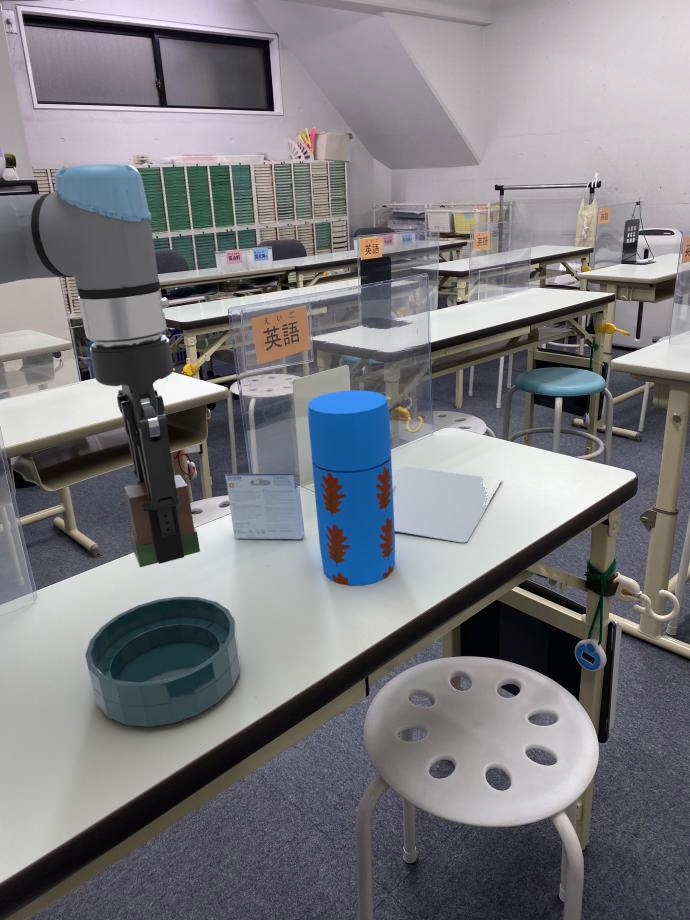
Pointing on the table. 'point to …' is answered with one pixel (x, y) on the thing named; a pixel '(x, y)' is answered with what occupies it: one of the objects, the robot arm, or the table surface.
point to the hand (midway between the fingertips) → (166, 550)
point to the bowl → (164, 660)
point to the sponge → (142, 524)
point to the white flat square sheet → (437, 503)
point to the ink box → (265, 506)
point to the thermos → (353, 485)
